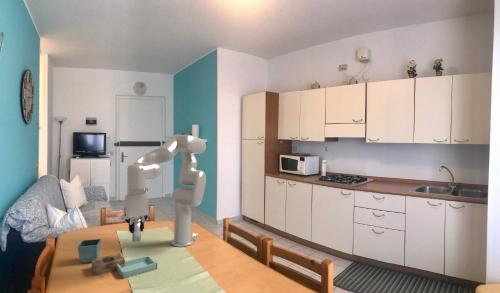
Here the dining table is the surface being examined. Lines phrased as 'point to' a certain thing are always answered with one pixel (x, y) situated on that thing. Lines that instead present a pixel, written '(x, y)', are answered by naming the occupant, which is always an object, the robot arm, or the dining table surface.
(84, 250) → the flower pot
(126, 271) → the tray
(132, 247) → the dining table surface
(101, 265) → the socket block
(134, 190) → the robot arm
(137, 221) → the pin
